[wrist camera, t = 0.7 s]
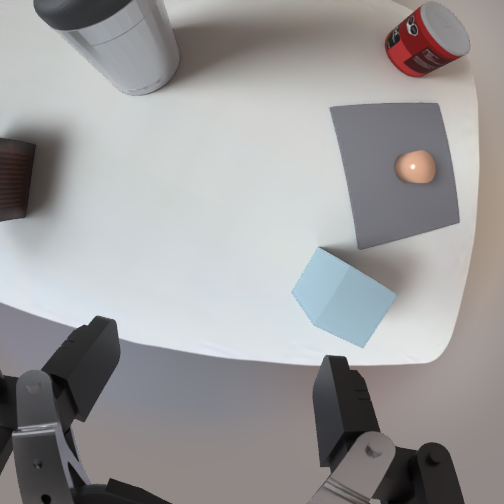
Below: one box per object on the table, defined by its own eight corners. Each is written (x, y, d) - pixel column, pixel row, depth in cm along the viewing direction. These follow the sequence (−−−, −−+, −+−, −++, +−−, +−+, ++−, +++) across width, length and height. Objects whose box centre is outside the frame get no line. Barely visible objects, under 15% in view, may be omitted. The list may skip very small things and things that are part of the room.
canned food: (401, 27, 31) (440, -4, 20) (434, 68, 32) (478, 45, 22) (372, 42, 31) (411, 7, 21) (408, 86, 33) (455, 62, 22)
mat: (329, 108, 33) (330, 107, 32) (435, 103, 34) (438, 103, 33) (358, 249, 36) (359, 249, 36) (457, 222, 37) (459, 222, 37)
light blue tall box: (332, 313, 38) (363, 348, 28) (291, 292, 37) (313, 325, 27) (357, 270, 37) (397, 294, 27) (318, 246, 36) (350, 265, 26)
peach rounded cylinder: (391, 155, 34) (408, 151, 30) (414, 152, 34) (432, 149, 30) (397, 185, 35) (414, 185, 31) (420, 181, 35) (437, 180, 31)
